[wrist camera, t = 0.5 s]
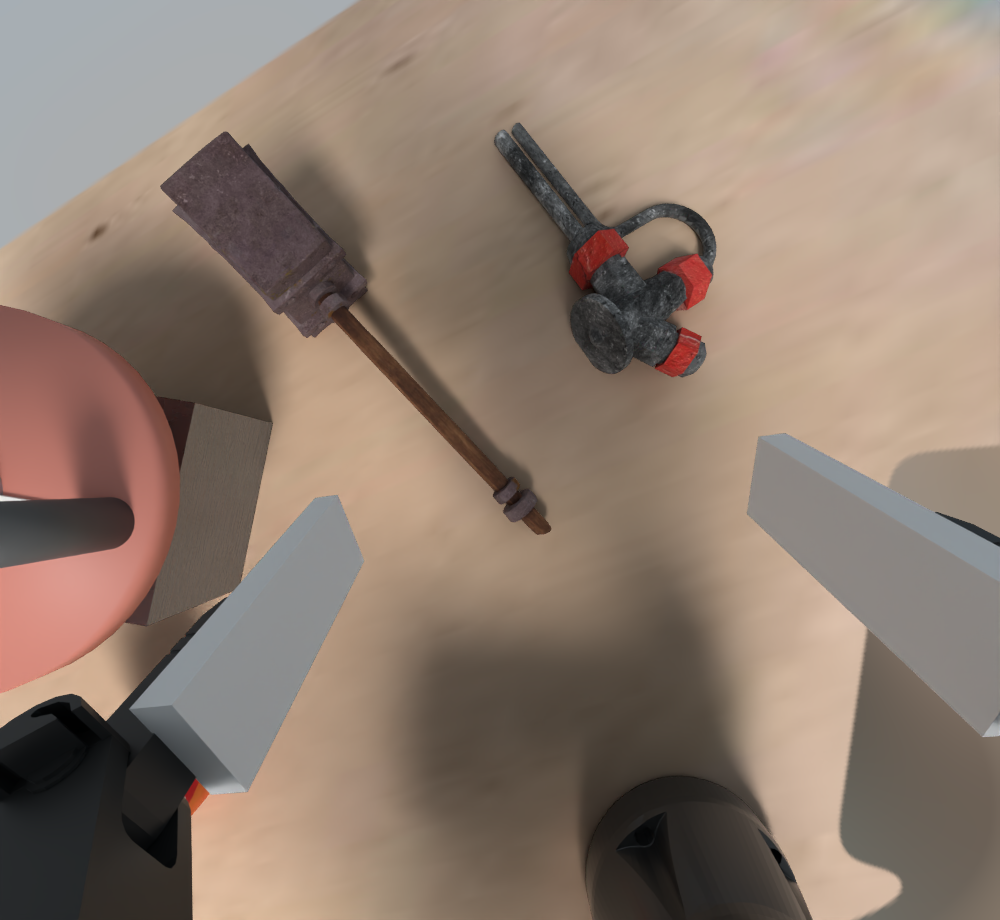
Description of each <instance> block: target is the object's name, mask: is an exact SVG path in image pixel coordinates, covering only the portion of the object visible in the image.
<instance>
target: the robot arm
mask: <svg viewBox="0 0 1000 920" xmlns="http://www.w3.org/2000/svg"><path fill="white" fill-rule="evenodd" d="M747 514H748V515H749V516H750V517H751V518H752V519H753V520H754V521H755V522H756V523H757V524H758V525H759V526H760V527H761V528H762V529H763V530H764V531H765V532H767V533H768V534H769V535H770V536H771V537H772V538H773V539H774V540H775V541H776V542H777V543H778V544H779V545H780V546H781V547H782V548H783V549H784V550H786V551H787V552H788V553H789V554H790V555H791V556H792V557H793V558H794V559H795V560H796V561H797V562H798V563H799V564H800V565H801V566H802V567H803V568H805V569H806V570H807V571H808V572H809V573H810V574H811V575H812V576H813V577H814V578H815V579H816V580H817V581H818V582H819V583H820V584H821V585H822V586H824V587H825V588H826V589H827V590H828V591H829V592H830V593H831V594H832V595H833V596H834V597H835V598H836V599H837V600H838V601H839V602H840V603H841V604H843V605H844V606H845V607H846V608H847V609H848V610H849V611H850V612H851V613H852V614H853V615H854V616H855V617H856V618H857V619H858V620H859V621H860V622H862V623H863V624H864V625H865V626H866V627H867V628H868V629H869V630H870V631H871V632H872V633H873V634H874V635H875V636H877V638H878V639H880V640H881V641H882V642H883V643H884V644H885V645H886V646H887V647H888V648H889V649H890V650H891V651H892V652H893V653H894V654H895V655H896V656H897V657H898V658H900V659H901V660H902V661H903V662H904V663H905V664H906V665H907V666H908V667H909V668H910V669H911V670H912V671H914V673H915V674H916V675H917V676H919V677H920V678H921V679H922V680H923V681H924V682H925V683H926V684H927V685H928V686H929V687H930V688H931V689H932V690H933V691H934V692H935V693H937V694H938V695H939V696H940V697H941V698H942V699H943V700H944V701H945V702H946V703H947V704H948V705H949V706H950V707H951V708H952V709H953V710H954V711H955V712H957V713H958V714H959V715H960V716H961V717H962V718H963V719H964V720H965V721H966V722H967V723H968V724H969V725H970V726H971V727H973V729H975V730H976V731H977V732H978V733H979V734H980V735H981V736H982V737H991V736H1000V538H999V537H997V536H995V535H993V534H991V533H989V532H987V531H985V530H983V529H981V528H979V527H977V526H976V525H974V524H971V523H967V522H965V521H962V520H959V519H956V518H953V517H950V516H947V515H944V514H941V513H938V512H933V511H931V510H929V509H927V508H925V507H923V506H922V505H920V504H918V503H916V502H914V501H912V500H910V499H908V498H906V497H905V496H903V495H901V494H899V493H897V492H895V491H893V490H891V489H890V488H888V487H886V486H884V485H882V484H880V483H878V482H876V481H874V480H873V479H871V478H869V477H867V476H865V475H863V474H861V473H859V472H858V471H856V470H854V469H852V468H850V467H848V466H846V465H844V464H842V463H841V462H839V461H837V460H835V459H833V458H831V457H829V456H827V455H826V454H824V453H822V452H820V451H818V450H816V449H814V448H812V447H810V446H809V445H807V444H805V443H803V442H801V441H799V440H797V439H795V438H794V437H792V436H790V435H788V434H786V433H783V434H776V435H768V436H761V437H758V443H757V449H756V456H755V463H754V470H753V476H752V483H751V490H750V496H749V503H748V510H747ZM363 562H364V559H363V557H362V554H361V552H360V549H359V547H358V544H357V542H356V539H355V537H354V534H353V532H352V529H351V527H350V524H349V522H348V519H347V517H346V514H345V512H344V510H343V507H342V505H341V502H340V500H339V497H338V495H333V496H326V497H319V498H315V499H314V500H313V501H312V502H311V503H310V504H309V506H308V507H307V508H306V509H305V510H304V511H303V512H302V514H301V515H300V516H299V517H298V518H297V519H296V520H295V521H294V523H293V524H292V525H291V526H290V527H289V528H288V529H287V531H286V532H285V533H284V534H283V535H282V536H281V537H280V538H279V540H278V541H277V542H276V543H275V544H274V545H273V546H272V548H271V549H270V550H269V551H268V552H267V553H266V554H265V555H264V557H263V558H262V559H261V560H260V561H259V562H258V563H257V565H256V566H255V567H254V568H253V569H252V570H251V571H250V572H249V574H248V575H247V576H246V577H245V578H244V579H243V580H242V582H241V583H240V584H239V585H238V586H237V587H236V588H235V590H234V591H233V592H232V593H231V594H230V595H229V596H228V597H226V598H224V599H223V600H222V601H220V602H219V603H218V604H216V605H215V606H214V607H213V608H211V609H210V610H209V611H207V612H206V613H205V614H203V615H202V616H201V618H200V619H199V620H198V621H197V622H196V623H195V624H194V625H193V626H192V627H191V629H190V630H189V631H188V632H187V633H186V637H185V638H181V640H180V641H179V642H178V643H177V644H176V645H175V646H174V647H173V648H172V649H171V653H170V654H169V655H166V656H165V657H164V658H163V659H162V660H161V662H160V663H159V664H158V665H157V666H156V667H155V668H154V669H153V670H152V671H151V673H150V674H149V675H148V676H147V677H146V678H145V679H144V680H143V681H142V682H141V684H140V685H139V686H138V687H137V688H136V689H135V690H134V691H133V692H132V693H131V695H130V696H129V697H128V698H127V699H126V700H125V701H124V702H123V703H122V704H121V706H120V707H119V708H118V709H117V710H116V711H115V712H114V713H113V714H112V715H111V717H110V718H109V719H108V720H107V721H105V720H104V719H103V718H102V717H101V716H100V715H99V714H98V713H97V712H96V711H95V710H94V709H93V708H92V707H91V706H90V705H89V704H88V703H87V702H86V701H84V700H83V699H82V698H81V697H80V696H77V695H74V694H68V695H63V696H58V697H55V698H52V699H50V700H48V701H45V702H43V703H41V704H38V705H36V706H34V707H33V708H31V709H29V710H28V711H26V712H24V713H22V714H21V715H19V716H17V717H16V718H14V719H12V720H11V721H10V722H8V723H7V724H6V725H4V726H3V727H2V728H0V920H193V915H192V846H191V809H190V806H189V803H188V801H187V800H186V799H185V798H184V796H185V795H186V793H187V792H188V790H189V788H190V787H191V785H192V784H193V782H194V780H195V779H196V780H197V781H198V782H199V783H200V784H201V785H202V786H203V787H204V788H205V789H206V790H207V791H208V792H209V793H210V794H211V795H213V794H226V793H240V792H248V790H249V788H250V786H251V784H252V782H253V780H254V778H255V776H256V774H257V772H258V770H259V768H260V766H261V764H262V762H263V760H264V758H265V756H266V754H267V752H268V751H269V749H270V747H271V745H272V743H273V741H274V739H275V737H276V735H277V733H278V731H279V729H280V727H281V725H282V723H283V721H284V719H285V717H286V715H287V713H288V711H289V709H290V707H291V705H292V703H293V701H294V699H295V697H296V695H297V693H298V691H299V689H300V687H301V685H302V683H303V681H304V679H305V677H306V675H307V673H308V671H309V669H310V667H311V665H312V663H313V661H314V659H315V657H316V655H317V653H318V651H319V649H320V647H321V645H322V643H323V642H324V640H325V638H326V636H327V634H328V632H329V630H330V628H331V626H332V624H333V622H334V620H335V618H336V616H337V614H338V612H339V610H340V608H341V606H342V604H343V602H344V600H345V598H346V596H347V594H348V592H349V590H350V588H351V586H352V584H353V582H354V580H355V578H356V576H357V574H358V572H359V570H360V568H361V566H362V564H363ZM586 887H587V895H588V900H589V905H590V910H591V914H592V919H593V920H813V919H812V917H811V915H810V912H809V910H808V907H807V905H806V903H805V900H804V898H803V896H802V893H801V891H800V889H799V887H798V885H797V882H796V880H795V877H794V874H793V872H792V870H791V868H790V865H789V863H788V861H787V859H786V857H785V856H784V854H783V852H782V850H781V849H780V847H779V846H778V844H777V843H776V841H775V840H774V838H773V837H772V836H771V834H770V833H769V832H768V830H767V829H766V828H765V827H764V825H763V824H762V823H761V821H760V820H759V819H758V817H757V816H756V815H755V814H754V812H753V811H752V810H751V809H750V808H749V807H748V806H747V805H746V804H745V803H744V802H743V801H742V800H741V799H739V798H738V797H737V796H736V795H734V794H733V793H731V792H730V791H728V790H726V789H725V788H723V787H721V786H719V785H717V784H714V783H712V782H709V781H706V780H702V779H698V778H692V777H666V778H661V779H657V780H653V781H650V782H647V783H645V784H642V785H640V786H638V787H636V788H634V789H633V790H631V791H630V792H628V793H627V794H625V795H624V796H623V797H621V798H620V799H619V800H618V801H617V802H616V803H615V804H614V805H613V806H612V807H611V808H610V810H609V811H608V812H607V813H606V815H605V816H604V817H603V819H602V821H601V822H600V824H599V826H598V828H597V830H596V832H595V834H594V836H593V839H592V842H591V845H590V848H589V852H588V857H587V865H586Z"/></svg>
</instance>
